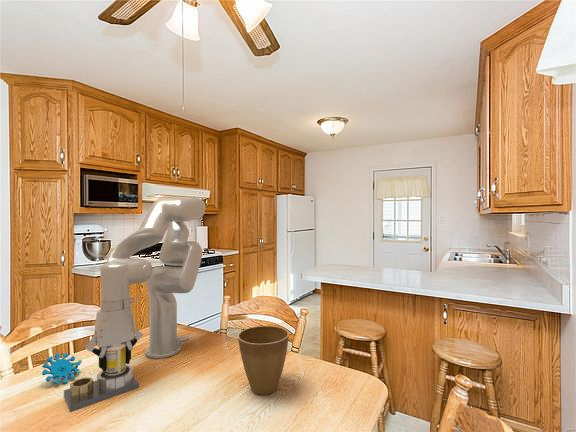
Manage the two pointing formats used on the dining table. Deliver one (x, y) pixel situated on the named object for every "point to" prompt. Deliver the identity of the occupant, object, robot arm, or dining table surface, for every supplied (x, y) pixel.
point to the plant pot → (263, 356)
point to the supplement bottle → (115, 359)
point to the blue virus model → (61, 368)
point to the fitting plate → (95, 394)
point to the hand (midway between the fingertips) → (115, 365)
